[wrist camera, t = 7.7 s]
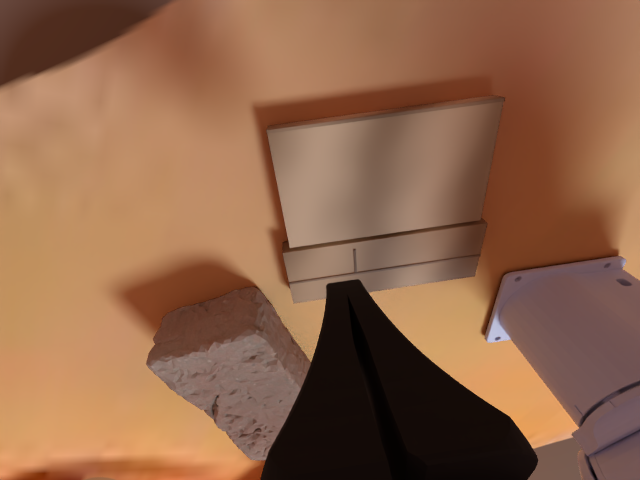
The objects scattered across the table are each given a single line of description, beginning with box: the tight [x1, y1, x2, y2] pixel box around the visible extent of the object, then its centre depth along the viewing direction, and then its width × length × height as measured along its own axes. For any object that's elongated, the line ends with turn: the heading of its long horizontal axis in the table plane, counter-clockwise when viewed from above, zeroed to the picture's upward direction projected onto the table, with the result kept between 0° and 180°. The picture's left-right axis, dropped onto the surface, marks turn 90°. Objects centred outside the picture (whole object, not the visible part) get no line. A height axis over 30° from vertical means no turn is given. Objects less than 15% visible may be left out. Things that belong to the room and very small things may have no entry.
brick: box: [146, 287, 311, 460], centre depth 24 cm, size 17×8×5 cm, turn 20°
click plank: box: [266, 95, 505, 248], centre depth 17 cm, size 12×7×1 cm, turn 96°
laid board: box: [283, 218, 487, 303], centre depth 20 cm, size 13×4×1 cm, turn 96°
